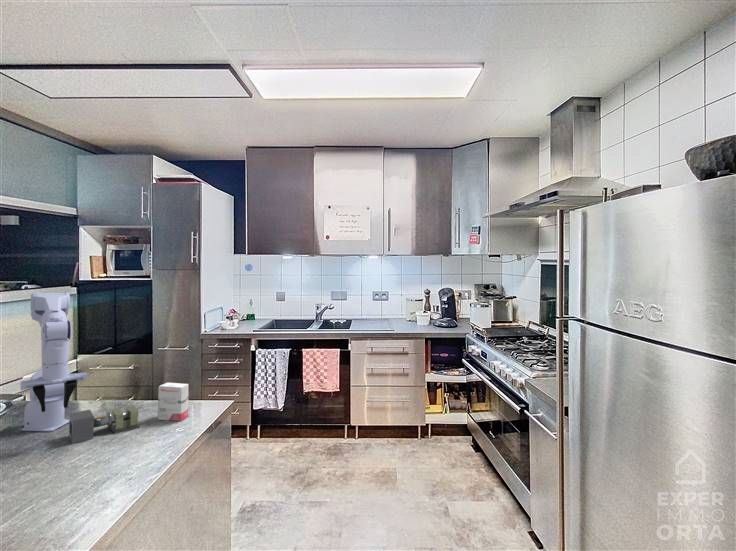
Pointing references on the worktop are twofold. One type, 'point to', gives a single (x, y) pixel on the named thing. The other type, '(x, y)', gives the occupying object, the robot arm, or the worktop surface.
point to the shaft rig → (119, 420)
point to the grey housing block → (81, 426)
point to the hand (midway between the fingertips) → (54, 408)
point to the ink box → (173, 401)
